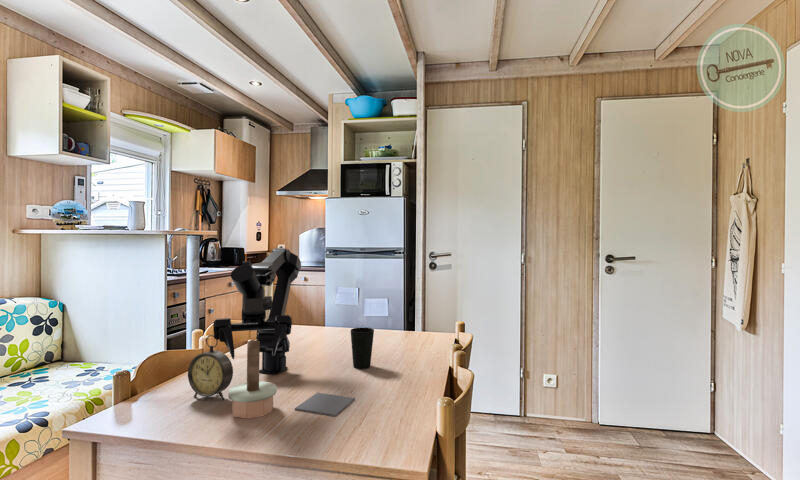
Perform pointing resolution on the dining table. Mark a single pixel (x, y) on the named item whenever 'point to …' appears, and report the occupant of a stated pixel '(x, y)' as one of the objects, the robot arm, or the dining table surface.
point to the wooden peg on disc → (252, 379)
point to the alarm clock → (210, 372)
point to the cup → (362, 347)
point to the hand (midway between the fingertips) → (253, 356)
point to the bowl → (252, 408)
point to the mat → (325, 404)
